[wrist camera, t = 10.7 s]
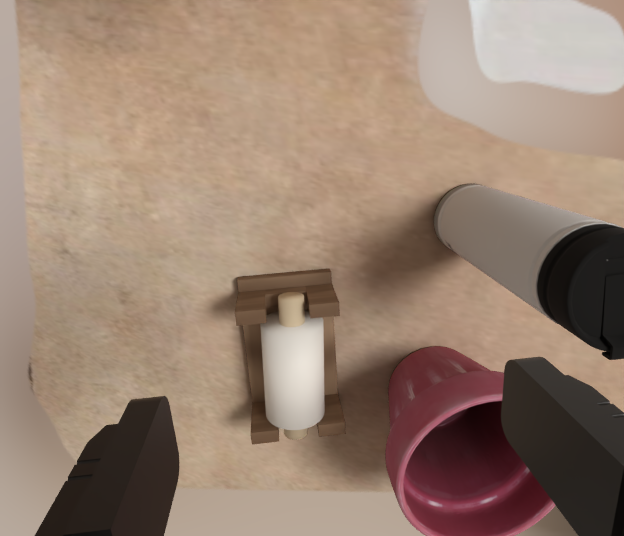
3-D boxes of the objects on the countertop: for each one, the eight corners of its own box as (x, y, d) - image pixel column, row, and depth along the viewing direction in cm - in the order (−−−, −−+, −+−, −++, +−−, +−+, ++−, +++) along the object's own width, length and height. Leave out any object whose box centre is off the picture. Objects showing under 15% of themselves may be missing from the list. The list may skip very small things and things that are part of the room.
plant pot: (451, 293, 43) (522, 359, 31) (522, 388, 47) (609, 479, 35) (335, 380, 45) (359, 475, 33) (413, 464, 49) (460, 576, 37)
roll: (286, 281, 42) (245, 300, 37) (335, 293, 38) (296, 314, 34) (291, 407, 46) (254, 436, 42) (336, 427, 43) (301, 460, 38)
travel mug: (433, 258, 42) (568, 369, 23) (432, 187, 40) (578, 246, 21) (498, 249, 42) (684, 352, 23) (500, 179, 40) (705, 229, 21)
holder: (237, 276, 41) (233, 299, 36) (329, 268, 41) (338, 289, 36) (255, 416, 45) (253, 454, 40) (337, 407, 46) (346, 443, 41)
